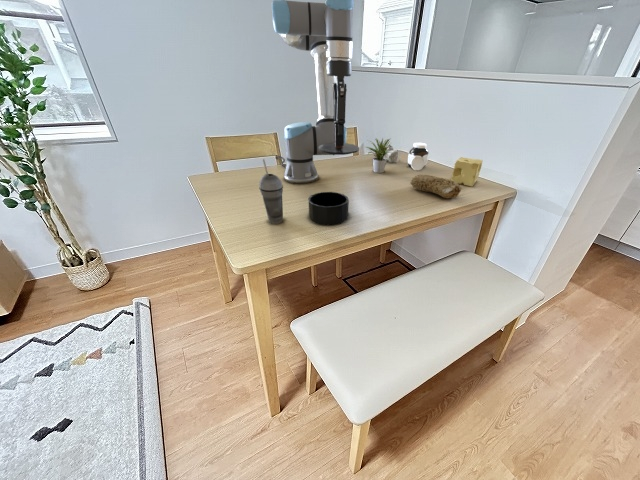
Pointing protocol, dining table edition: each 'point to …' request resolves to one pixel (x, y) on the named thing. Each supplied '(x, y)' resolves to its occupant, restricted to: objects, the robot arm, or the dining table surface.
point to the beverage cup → (272, 196)
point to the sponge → (436, 185)
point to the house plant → (379, 155)
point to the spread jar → (418, 156)
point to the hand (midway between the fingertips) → (338, 144)
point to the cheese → (466, 171)
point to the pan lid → (338, 148)
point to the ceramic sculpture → (391, 154)
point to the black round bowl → (328, 208)
